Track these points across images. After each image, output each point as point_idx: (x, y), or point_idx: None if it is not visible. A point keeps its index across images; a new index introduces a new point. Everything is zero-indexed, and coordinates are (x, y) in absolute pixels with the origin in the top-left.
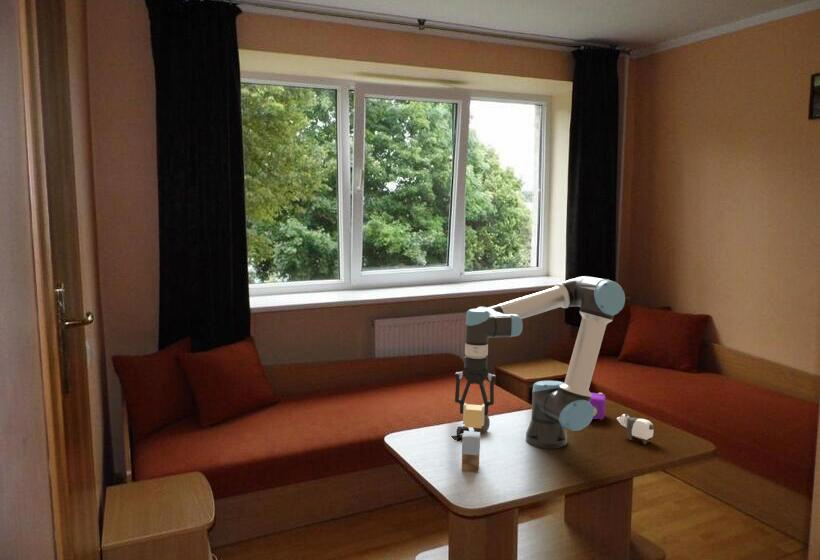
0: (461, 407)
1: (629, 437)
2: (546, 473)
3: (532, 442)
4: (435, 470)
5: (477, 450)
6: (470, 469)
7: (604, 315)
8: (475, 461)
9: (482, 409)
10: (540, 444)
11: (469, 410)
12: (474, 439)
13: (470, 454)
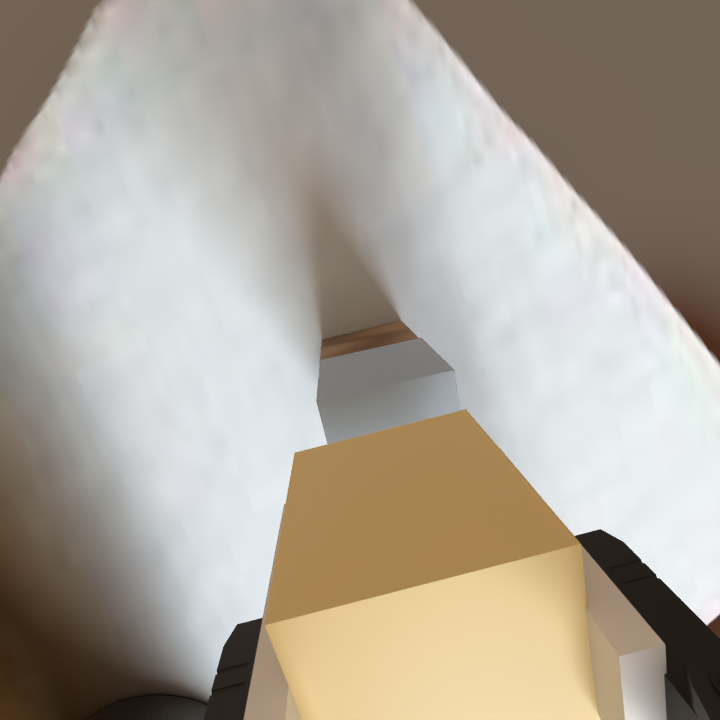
0: (659, 609)
1: None
2: (26, 474)
3: (194, 713)
4: (520, 265)
5: (325, 367)
6: (359, 333)
7: None
8: (336, 349)
9: (282, 682)
10: (152, 709)
11: (492, 554)
12: (351, 386)
13: (368, 350)
